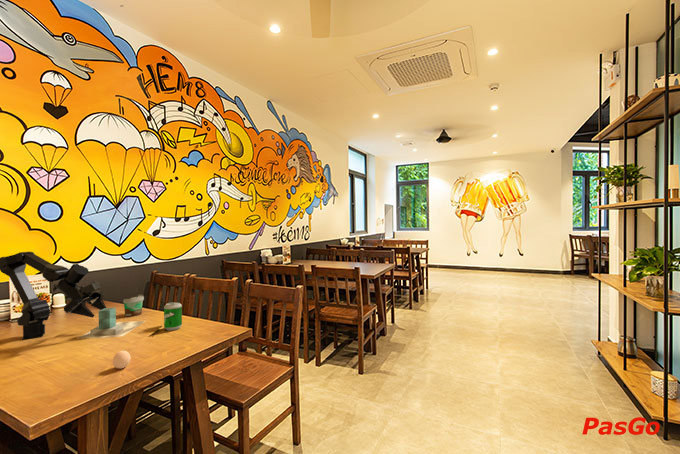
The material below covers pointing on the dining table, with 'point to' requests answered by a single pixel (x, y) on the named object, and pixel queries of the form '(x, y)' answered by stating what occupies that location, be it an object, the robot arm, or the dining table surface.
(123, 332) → the birch board
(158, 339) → the dining table surface
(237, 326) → the dining table surface
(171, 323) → the soda can
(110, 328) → the block
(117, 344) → the dining table surface
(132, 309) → the food container
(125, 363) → the egg
